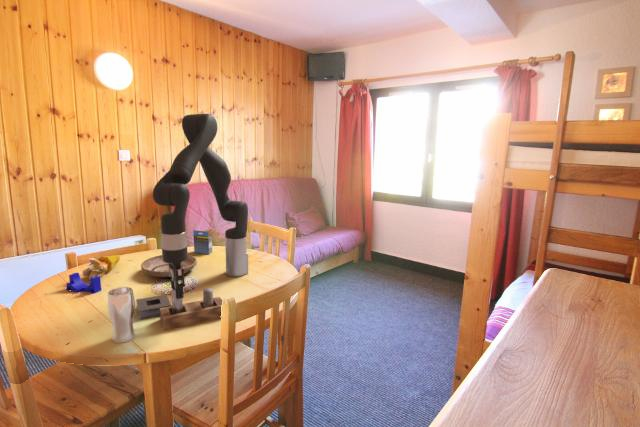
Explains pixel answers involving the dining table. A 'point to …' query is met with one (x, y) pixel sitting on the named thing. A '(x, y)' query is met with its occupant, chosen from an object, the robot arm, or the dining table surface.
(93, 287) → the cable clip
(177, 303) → the round metal peg
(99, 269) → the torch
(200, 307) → the rack
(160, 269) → the ceramic bowl
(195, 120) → the robot arm
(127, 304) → the beer glass
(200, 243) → the label tape cartridge
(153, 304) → the socket block
